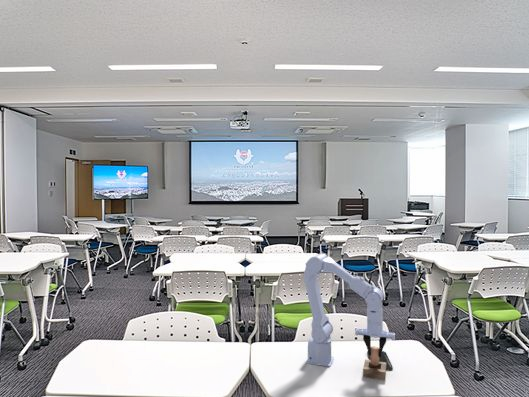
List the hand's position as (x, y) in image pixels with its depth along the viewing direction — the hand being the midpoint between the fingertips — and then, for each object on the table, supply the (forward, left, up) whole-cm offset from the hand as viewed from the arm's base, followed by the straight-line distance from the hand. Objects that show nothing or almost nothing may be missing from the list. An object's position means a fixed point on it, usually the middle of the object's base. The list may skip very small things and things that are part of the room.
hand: (374, 355), depth 142 cm
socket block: (0, 0, -7) cm, 7 cm away
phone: (+1, +11, -8) cm, 13 cm away
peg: (0, 0, -3) cm, 3 cm away
